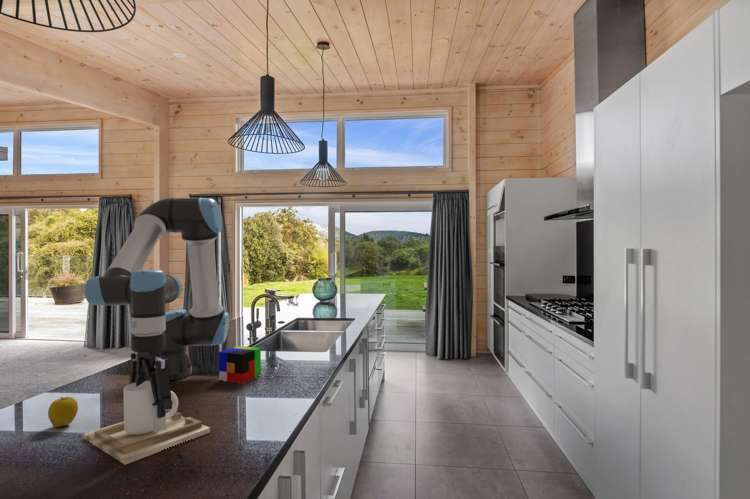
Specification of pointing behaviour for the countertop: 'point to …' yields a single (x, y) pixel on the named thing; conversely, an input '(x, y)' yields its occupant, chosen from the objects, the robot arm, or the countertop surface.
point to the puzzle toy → (239, 364)
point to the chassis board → (145, 438)
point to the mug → (141, 408)
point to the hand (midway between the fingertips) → (149, 425)
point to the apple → (62, 411)
